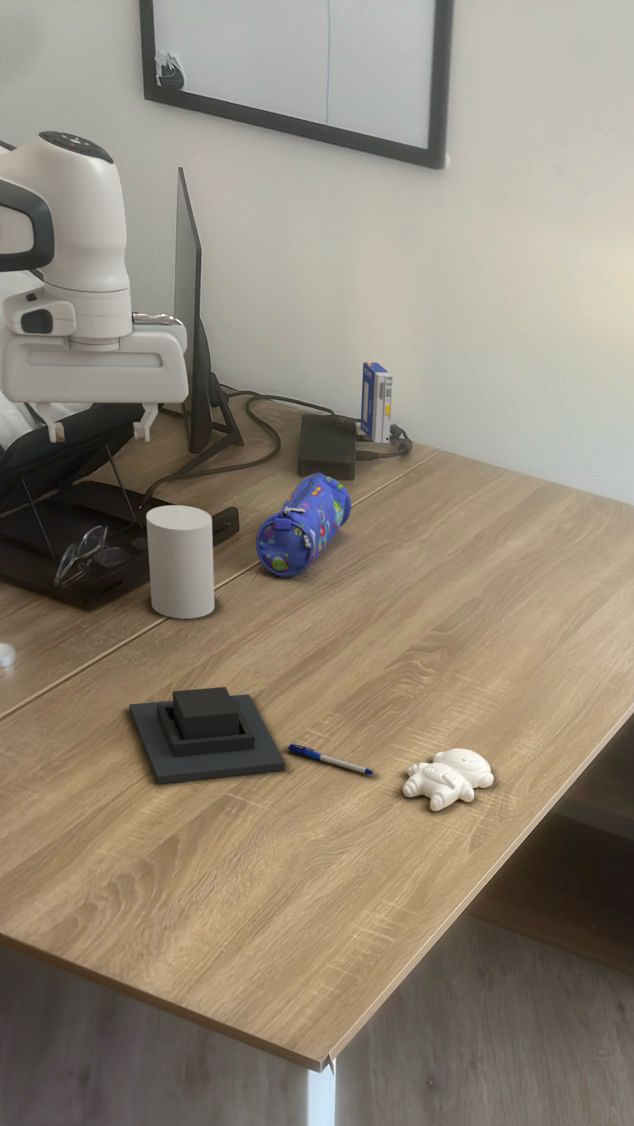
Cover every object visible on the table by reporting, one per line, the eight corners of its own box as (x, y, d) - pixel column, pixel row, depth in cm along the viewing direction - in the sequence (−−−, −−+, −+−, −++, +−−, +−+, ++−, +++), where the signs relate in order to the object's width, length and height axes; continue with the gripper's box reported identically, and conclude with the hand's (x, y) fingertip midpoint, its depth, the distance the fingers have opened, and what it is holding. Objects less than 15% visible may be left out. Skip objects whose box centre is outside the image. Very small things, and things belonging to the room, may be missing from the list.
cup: (196, 588, 175) (193, 502, 168) (225, 612, 171) (223, 524, 163) (141, 597, 171) (135, 509, 163) (169, 622, 166) (164, 533, 159)
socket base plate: (157, 784, 137) (156, 763, 136) (129, 711, 148) (128, 691, 146) (284, 770, 143) (285, 750, 141) (248, 701, 154) (248, 681, 152)
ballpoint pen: (286, 752, 146) (286, 744, 145) (290, 748, 146) (290, 741, 146) (371, 776, 144) (371, 769, 144) (374, 773, 145) (374, 765, 144)
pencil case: (310, 587, 181) (311, 521, 174) (251, 575, 181) (250, 509, 175) (352, 532, 198) (354, 470, 192) (298, 522, 198) (299, 460, 192)
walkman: (360, 428, 236) (363, 360, 228) (374, 428, 237) (377, 360, 229) (375, 443, 231) (378, 374, 223) (389, 443, 232) (393, 374, 224)
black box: (185, 748, 142) (184, 717, 139) (174, 722, 146) (172, 690, 143) (239, 743, 144) (238, 712, 142) (226, 717, 148) (225, 686, 146)
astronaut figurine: (384, 786, 143) (385, 763, 141) (453, 751, 151) (455, 729, 149) (442, 819, 140) (445, 796, 138) (510, 781, 148) (513, 759, 146)
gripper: (179, 306, 145) (185, 431, 153) (-14, 299, 136) (4, 431, 145) (192, 322, 140) (197, 449, 149) (-7, 316, 132) (11, 451, 141)
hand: (100, 440), depth 147 cm, fingers open, 8 cm apart
